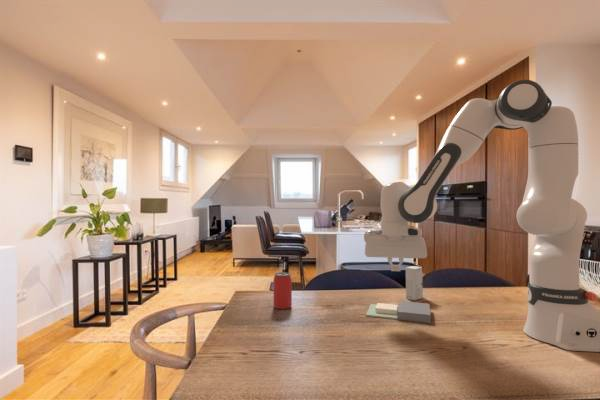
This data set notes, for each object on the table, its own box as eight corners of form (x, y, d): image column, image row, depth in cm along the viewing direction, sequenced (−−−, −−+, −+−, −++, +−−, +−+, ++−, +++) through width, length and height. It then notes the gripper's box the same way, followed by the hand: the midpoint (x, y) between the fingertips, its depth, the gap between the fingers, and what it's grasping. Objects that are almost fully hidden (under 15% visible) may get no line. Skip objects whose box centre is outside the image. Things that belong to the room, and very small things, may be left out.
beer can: (292, 304, 121) (292, 272, 121) (290, 310, 115) (290, 276, 115) (275, 304, 122) (275, 271, 122) (272, 309, 115) (271, 275, 116)
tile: (398, 309, 113) (397, 304, 114) (397, 314, 108) (396, 310, 108) (377, 307, 116) (377, 302, 116) (375, 312, 110) (375, 307, 110)
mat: (399, 308, 116) (399, 306, 116) (397, 319, 105) (397, 317, 105) (370, 305, 120) (370, 303, 120) (365, 316, 108) (365, 314, 108)
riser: (429, 311, 113) (429, 303, 113) (430, 323, 101) (430, 315, 101) (399, 308, 116) (399, 301, 116) (397, 319, 105) (397, 311, 105)
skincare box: (416, 300, 125) (415, 269, 125) (405, 298, 128) (404, 267, 128) (423, 297, 129) (423, 266, 129) (412, 295, 132) (412, 265, 132)
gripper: (362, 230, 112) (363, 271, 111) (426, 230, 105) (428, 273, 104) (365, 229, 118) (366, 268, 117) (425, 229, 111) (427, 270, 110)
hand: (395, 270), depth 111 cm, fingers closed
